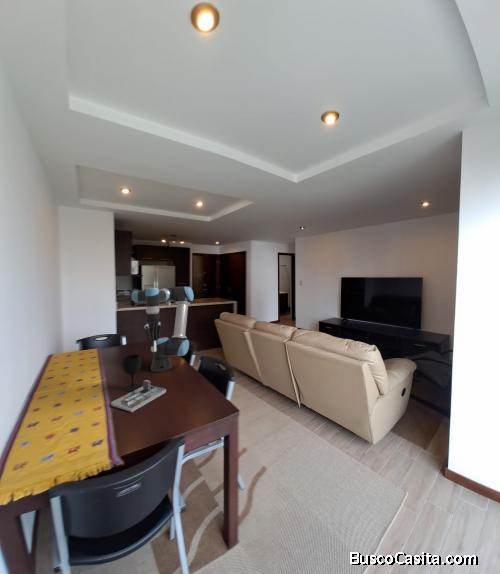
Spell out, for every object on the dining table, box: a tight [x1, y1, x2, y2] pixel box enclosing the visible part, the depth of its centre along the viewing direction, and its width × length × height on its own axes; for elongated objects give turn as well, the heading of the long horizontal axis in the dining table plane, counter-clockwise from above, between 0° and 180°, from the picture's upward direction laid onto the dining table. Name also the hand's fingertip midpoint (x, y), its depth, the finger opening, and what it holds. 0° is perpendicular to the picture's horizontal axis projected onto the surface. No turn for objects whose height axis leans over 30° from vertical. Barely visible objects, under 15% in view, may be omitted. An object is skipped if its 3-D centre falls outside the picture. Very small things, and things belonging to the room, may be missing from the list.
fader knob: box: [142, 379, 152, 392], centre depth 143 cm, size 2×4×6 cm, turn 65°
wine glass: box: [122, 354, 143, 393], centre depth 152 cm, size 10×10×20 cm
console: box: [110, 384, 167, 413], centre depth 138 cm, size 24×16×3 cm, turn 155°
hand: (153, 351), depth 147 cm, fingers closed
